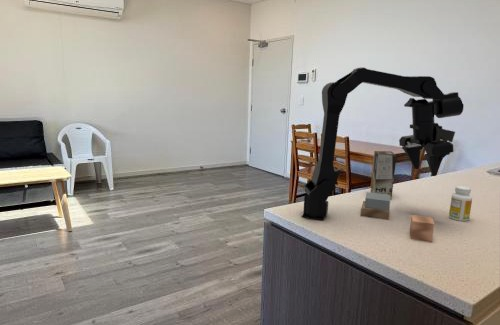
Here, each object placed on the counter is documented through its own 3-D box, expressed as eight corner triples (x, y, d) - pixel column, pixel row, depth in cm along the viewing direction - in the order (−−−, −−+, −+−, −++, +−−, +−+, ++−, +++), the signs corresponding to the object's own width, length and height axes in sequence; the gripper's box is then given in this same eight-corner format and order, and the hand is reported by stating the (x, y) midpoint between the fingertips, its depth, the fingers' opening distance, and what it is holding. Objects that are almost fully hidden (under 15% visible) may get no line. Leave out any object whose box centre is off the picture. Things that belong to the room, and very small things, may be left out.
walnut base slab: (360, 217, 109) (361, 208, 108) (362, 209, 116) (363, 200, 115) (388, 221, 106) (389, 211, 105) (388, 213, 113) (389, 204, 112)
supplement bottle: (466, 216, 110) (471, 186, 108) (471, 222, 105) (475, 190, 103) (447, 214, 112) (451, 184, 110) (450, 219, 107) (455, 188, 105)
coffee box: (392, 200, 125) (397, 155, 122) (373, 198, 127) (377, 154, 124) (387, 193, 134) (392, 151, 131) (370, 191, 135) (374, 150, 132)
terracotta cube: (410, 239, 92) (412, 221, 91) (409, 232, 97) (411, 214, 96) (431, 242, 91) (434, 224, 90) (429, 235, 95) (432, 217, 94)
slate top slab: (364, 207, 109) (365, 198, 108) (365, 201, 115) (366, 192, 114) (389, 210, 106) (390, 201, 106) (388, 203, 113) (389, 194, 112)
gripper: (472, 118, 95) (472, 175, 98) (430, 114, 113) (432, 162, 116) (432, 125, 94) (434, 181, 97) (397, 119, 112) (399, 167, 115)
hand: (425, 172), depth 106 cm, fingers open, 9 cm apart
